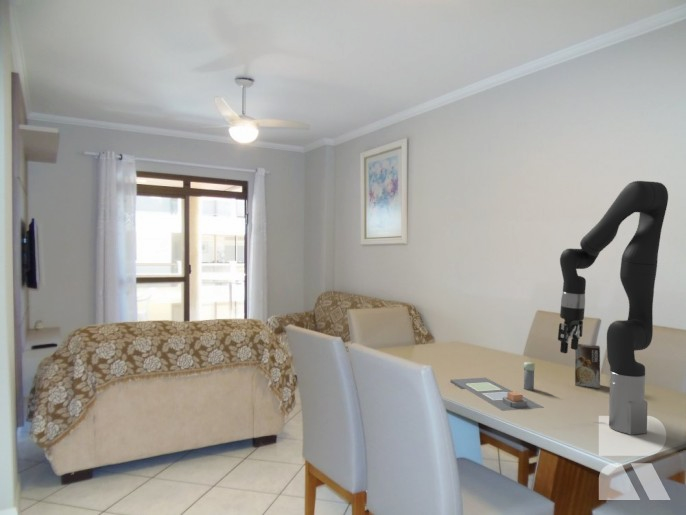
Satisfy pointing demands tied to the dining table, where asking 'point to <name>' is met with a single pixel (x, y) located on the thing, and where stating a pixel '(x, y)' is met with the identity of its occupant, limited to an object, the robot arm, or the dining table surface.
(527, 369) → the marker
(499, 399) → the picture board
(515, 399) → the button
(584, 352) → the coffee box
